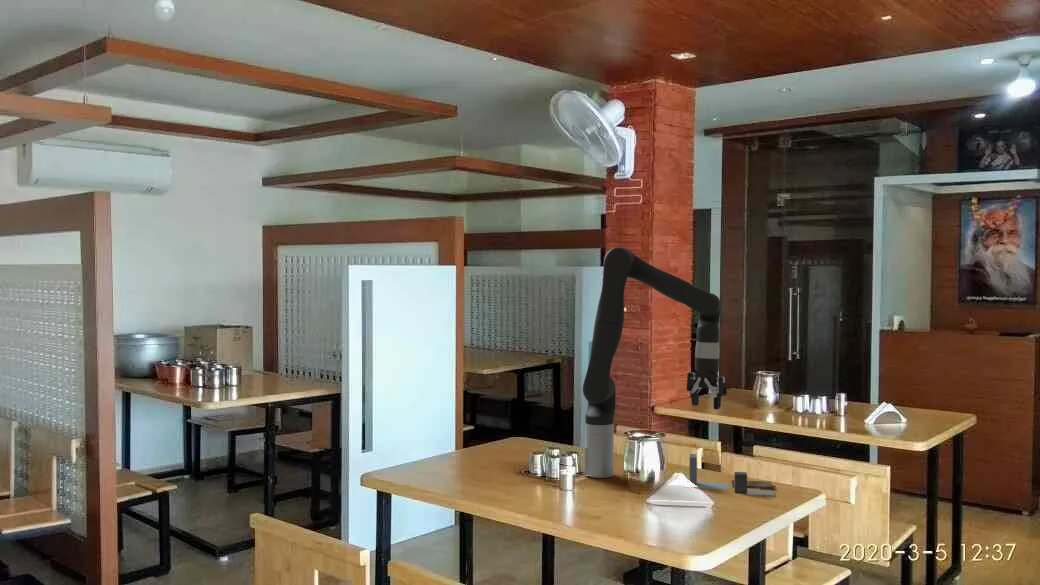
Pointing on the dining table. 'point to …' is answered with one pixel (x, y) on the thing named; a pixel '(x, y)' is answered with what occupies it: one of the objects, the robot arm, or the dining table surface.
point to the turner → (741, 486)
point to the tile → (693, 468)
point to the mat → (713, 485)
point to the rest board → (758, 485)
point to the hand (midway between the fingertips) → (705, 407)
